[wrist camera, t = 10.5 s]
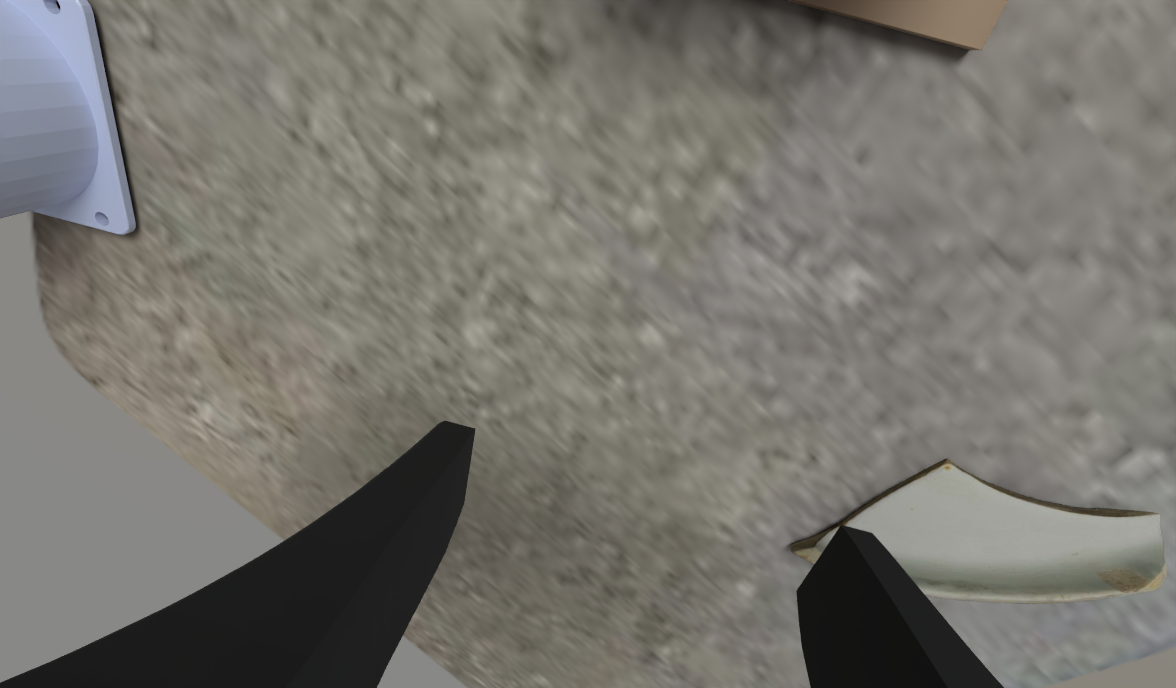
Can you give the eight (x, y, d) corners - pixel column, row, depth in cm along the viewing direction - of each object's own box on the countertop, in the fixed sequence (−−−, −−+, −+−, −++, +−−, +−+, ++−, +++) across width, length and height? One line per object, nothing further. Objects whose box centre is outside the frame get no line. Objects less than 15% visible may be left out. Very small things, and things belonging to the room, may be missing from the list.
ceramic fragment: (788, 542, 25) (809, 619, 22) (792, 456, 23) (816, 527, 19) (1131, 538, 23) (1213, 622, 19) (1176, 441, 20) (1279, 519, 17)
